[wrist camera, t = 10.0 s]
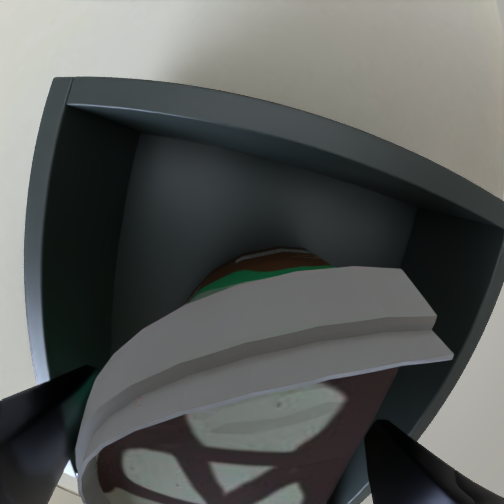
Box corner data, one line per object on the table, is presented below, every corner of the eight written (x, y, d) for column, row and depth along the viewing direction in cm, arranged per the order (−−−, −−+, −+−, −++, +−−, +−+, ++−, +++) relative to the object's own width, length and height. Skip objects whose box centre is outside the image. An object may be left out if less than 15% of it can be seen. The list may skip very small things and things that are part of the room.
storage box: (427, 195, 13) (523, 214, 7) (321, 443, 17) (341, 521, 10) (134, 115, 12) (52, 76, 6) (103, 399, 16) (63, 472, 9)
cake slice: (167, 191, 12) (-22, 239, 3) (311, 214, 13) (471, 316, 3) (157, 411, 15) (110, 556, 5) (261, 426, 15) (269, 580, 6)
